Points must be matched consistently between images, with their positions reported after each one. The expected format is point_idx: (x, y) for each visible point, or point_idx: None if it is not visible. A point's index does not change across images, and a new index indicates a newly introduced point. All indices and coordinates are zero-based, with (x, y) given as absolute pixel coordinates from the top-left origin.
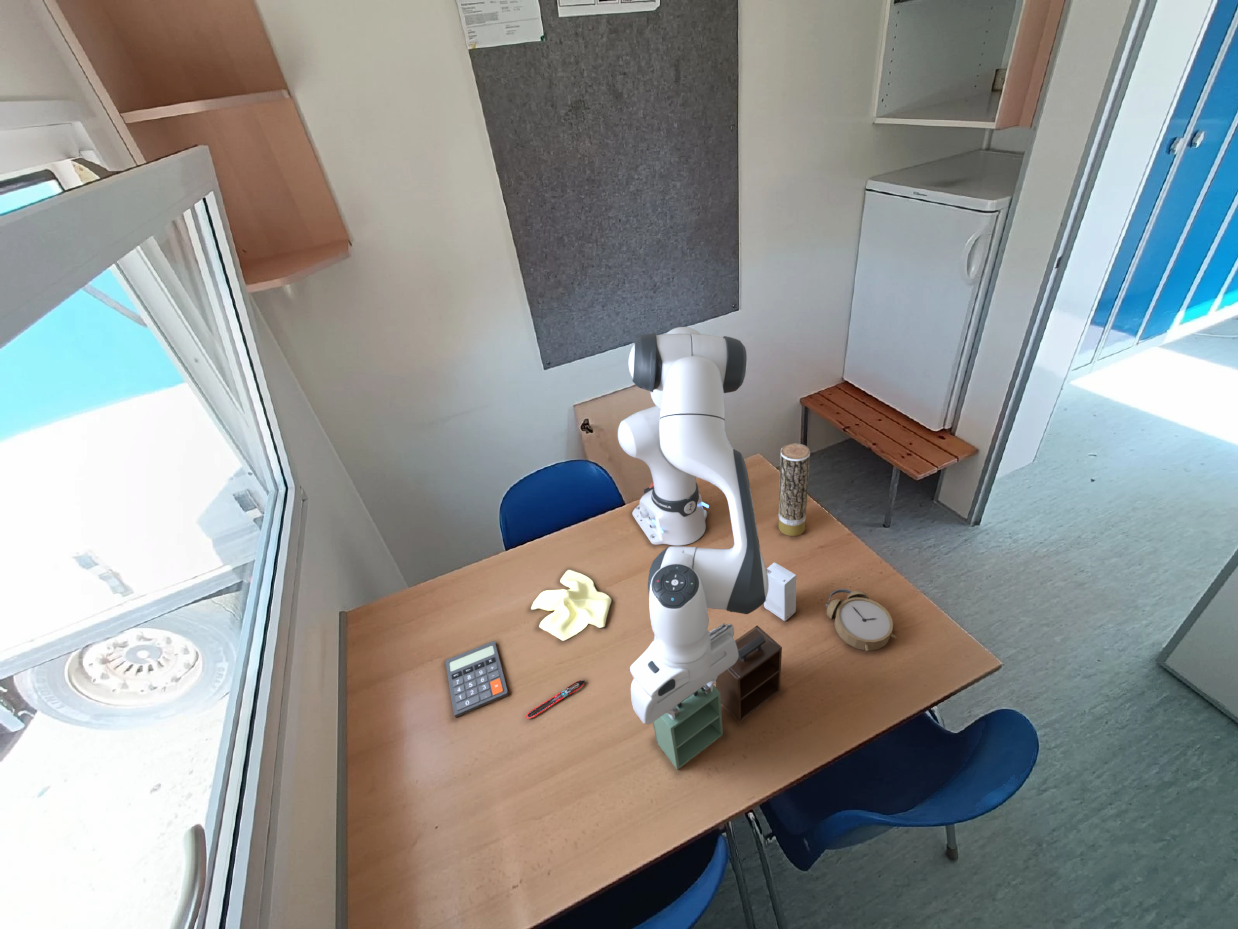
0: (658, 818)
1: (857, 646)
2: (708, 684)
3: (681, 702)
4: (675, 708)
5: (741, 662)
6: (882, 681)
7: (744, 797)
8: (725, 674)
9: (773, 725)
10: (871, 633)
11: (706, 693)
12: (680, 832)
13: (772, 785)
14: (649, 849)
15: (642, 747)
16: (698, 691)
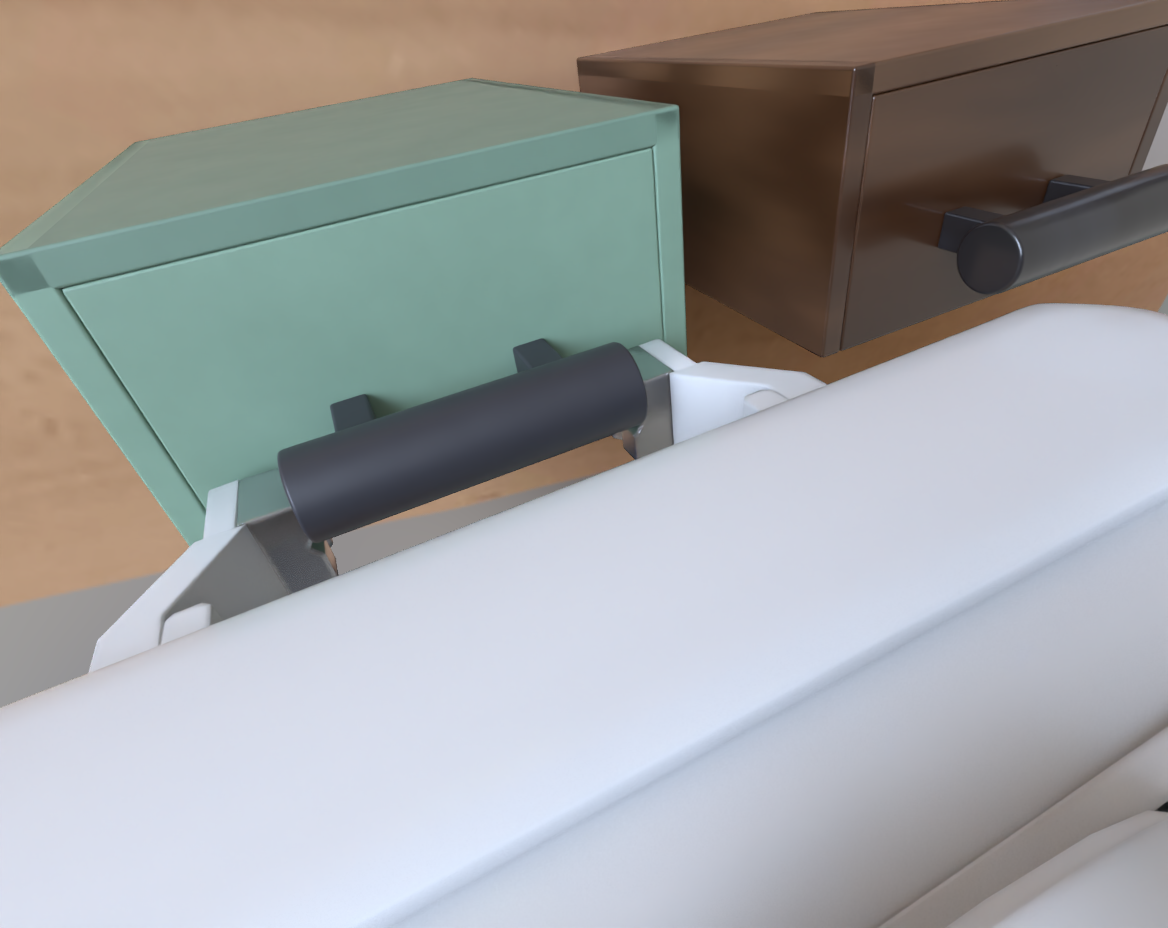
0: (79, 498)
1: None
2: (684, 433)
3: (389, 400)
4: (311, 567)
5: (926, 248)
6: (1001, 294)
7: (467, 491)
8: (773, 209)
9: (692, 300)
10: (1157, 160)
11: (616, 434)
12: (180, 553)
13: (567, 477)
14: (12, 589)
15: (14, 128)
16: (566, 354)
